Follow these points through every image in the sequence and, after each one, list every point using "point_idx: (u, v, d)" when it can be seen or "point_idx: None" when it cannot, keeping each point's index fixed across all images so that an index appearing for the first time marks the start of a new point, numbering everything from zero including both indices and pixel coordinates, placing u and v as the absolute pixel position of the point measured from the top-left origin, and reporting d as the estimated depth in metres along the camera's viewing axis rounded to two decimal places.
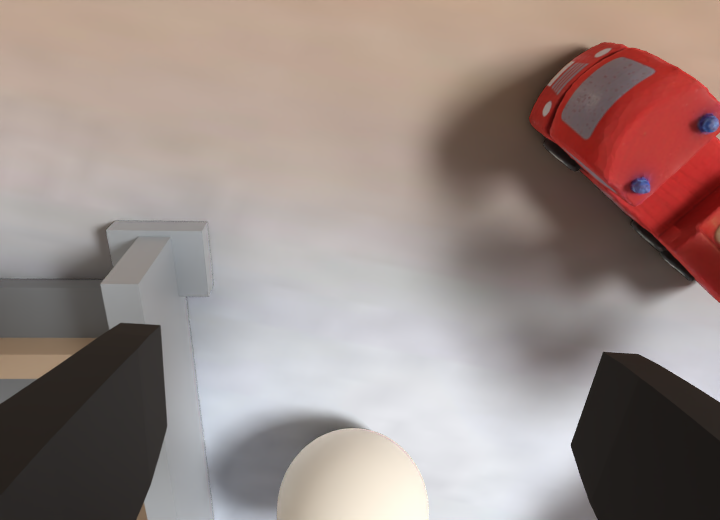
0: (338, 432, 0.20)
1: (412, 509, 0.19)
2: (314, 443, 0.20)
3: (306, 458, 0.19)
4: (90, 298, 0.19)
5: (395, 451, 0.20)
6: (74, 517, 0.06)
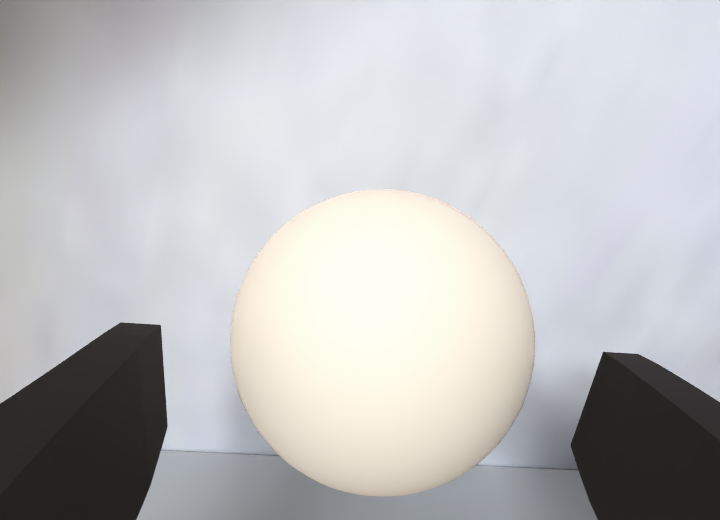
0: None
1: (305, 272, 0.08)
2: None
3: None
4: None
5: None
6: (74, 517, 0.06)
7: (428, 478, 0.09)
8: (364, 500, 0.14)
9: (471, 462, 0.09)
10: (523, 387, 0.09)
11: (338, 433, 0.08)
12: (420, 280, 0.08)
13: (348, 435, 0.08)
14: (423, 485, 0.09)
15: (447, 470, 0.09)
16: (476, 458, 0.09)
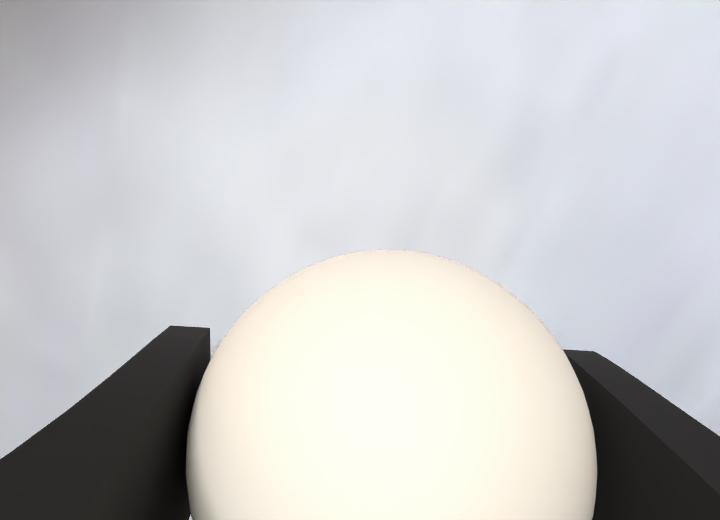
0: None
1: (283, 389, 0.06)
2: None
3: None
4: None
5: (229, 330, 0.07)
6: (142, 519, 0.06)
7: None
8: None
9: None
10: None
11: None
12: (448, 407, 0.05)
13: None
14: None
15: None
16: None
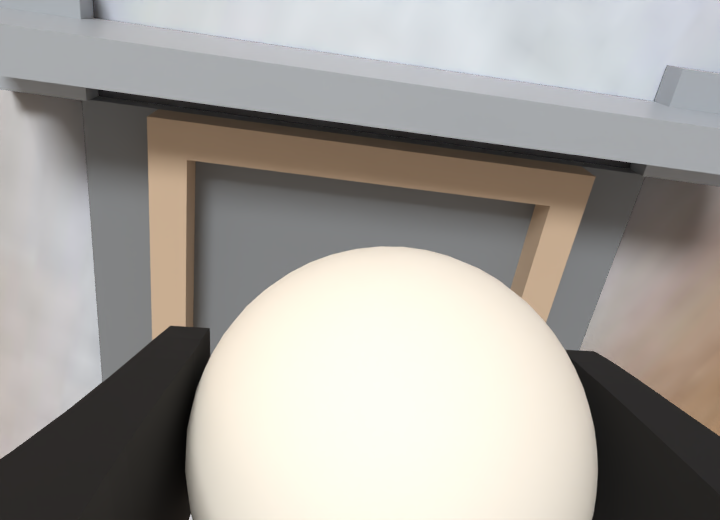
0: None
1: (283, 386, 0.06)
2: None
3: None
4: (99, 138, 0.15)
5: None
6: (142, 519, 0.06)
7: None
8: (406, 69, 0.14)
9: None
10: None
11: None
12: (449, 403, 0.05)
13: None
14: None
15: None
16: None
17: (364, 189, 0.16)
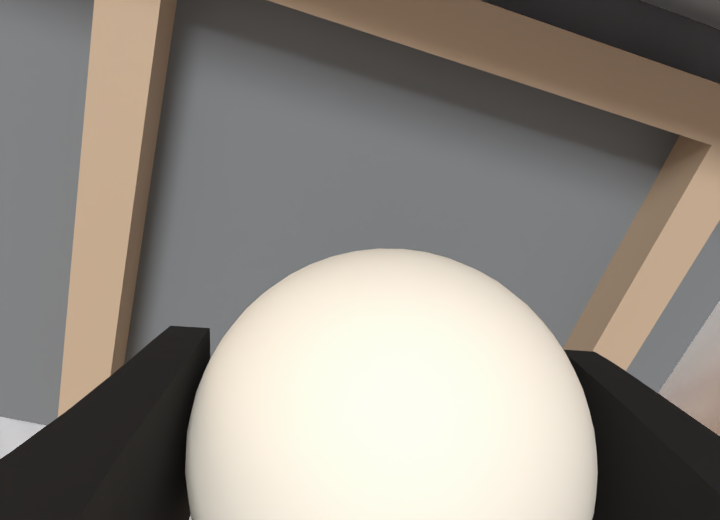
0: None
1: (283, 388, 0.06)
2: None
3: None
4: None
5: (229, 329, 0.07)
6: (142, 519, 0.06)
7: None
8: None
9: None
10: None
11: None
12: (448, 405, 0.05)
13: None
14: None
15: None
16: None
17: (433, 83, 0.10)
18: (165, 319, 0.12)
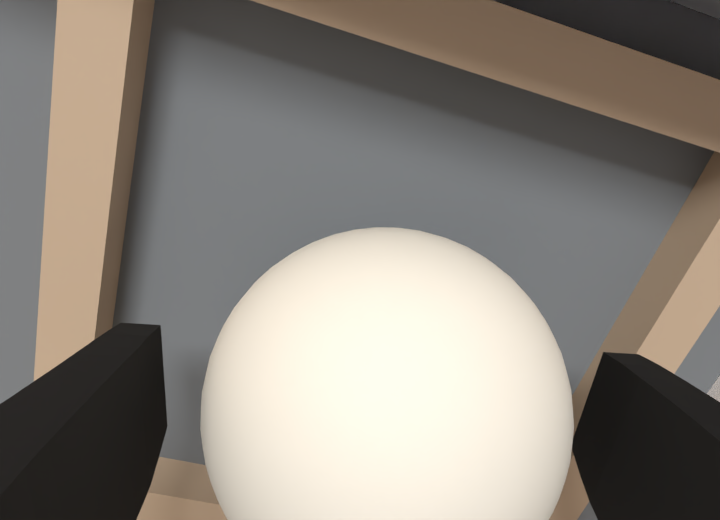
0: None
1: (290, 346, 0.06)
2: None
3: None
4: None
5: None
6: (74, 517, 0.06)
7: None
8: None
9: None
10: (563, 480, 0.07)
11: None
12: (438, 358, 0.06)
13: None
14: None
15: None
16: None
17: (442, 94, 0.09)
18: None
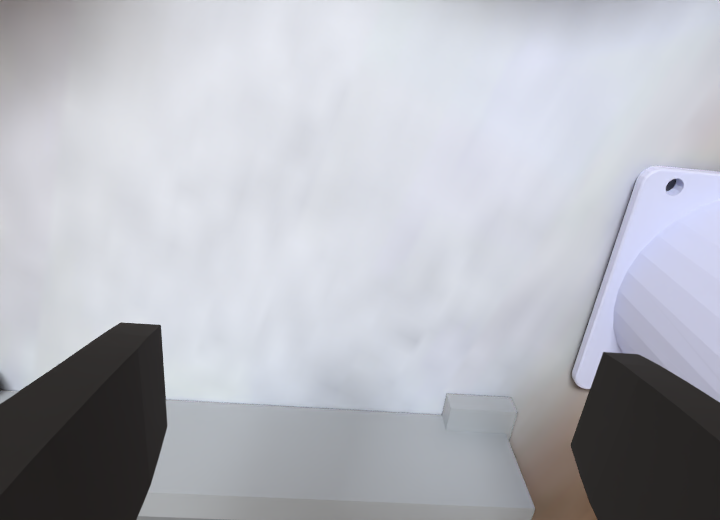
0: None
1: None
2: None
3: None
4: None
5: None
6: (74, 517, 0.06)
7: None
8: (231, 431, 0.18)
9: None
10: None
11: None
12: None
13: None
14: None
15: None
16: None
17: None
18: None
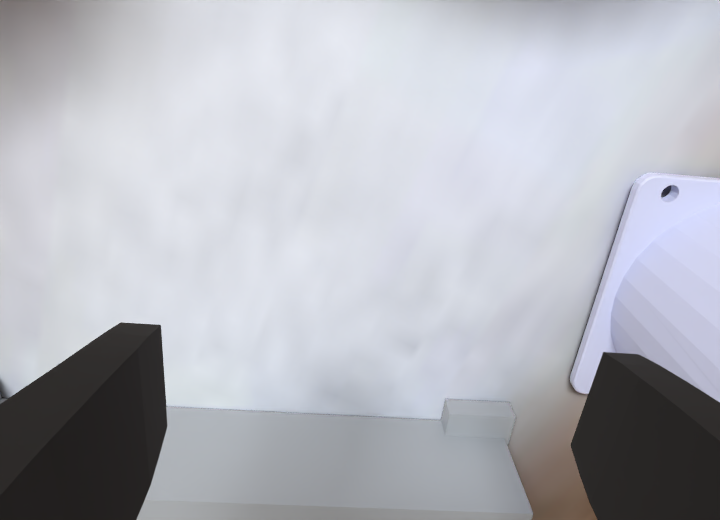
0: None
1: None
2: None
3: None
4: None
5: None
6: (74, 517, 0.06)
7: None
8: (231, 438, 0.18)
9: None
10: None
11: None
12: None
13: None
14: None
15: None
16: None
17: None
18: None
